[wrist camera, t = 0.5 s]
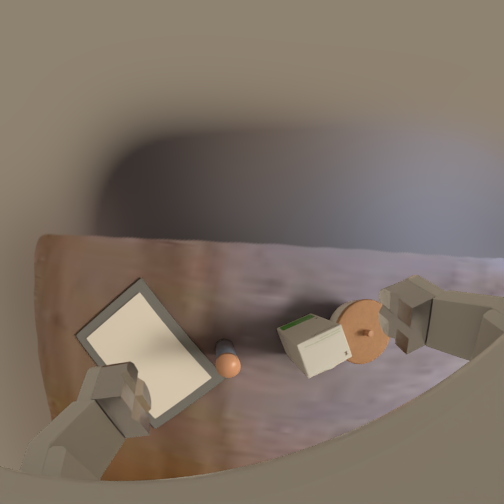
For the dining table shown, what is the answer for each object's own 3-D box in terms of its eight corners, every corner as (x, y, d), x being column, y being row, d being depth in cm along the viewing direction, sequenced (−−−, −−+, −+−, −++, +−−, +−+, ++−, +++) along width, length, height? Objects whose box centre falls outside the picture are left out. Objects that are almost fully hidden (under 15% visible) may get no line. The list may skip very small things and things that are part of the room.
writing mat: (225, 377, 55) (225, 378, 54) (156, 427, 51) (155, 429, 50) (141, 278, 54) (140, 277, 54) (76, 335, 51) (75, 335, 50)
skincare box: (311, 312, 58) (343, 321, 43) (321, 340, 58) (354, 357, 43) (274, 328, 57) (295, 343, 42) (285, 357, 57) (309, 380, 41)
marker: (237, 348, 56) (245, 367, 42) (223, 360, 55) (226, 382, 42) (225, 334, 56) (229, 349, 42) (210, 346, 55) (210, 364, 42)
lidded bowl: (308, 339, 58) (328, 350, 47) (336, 287, 60) (361, 287, 49) (352, 362, 58) (377, 375, 48) (378, 313, 60) (406, 317, 50)
